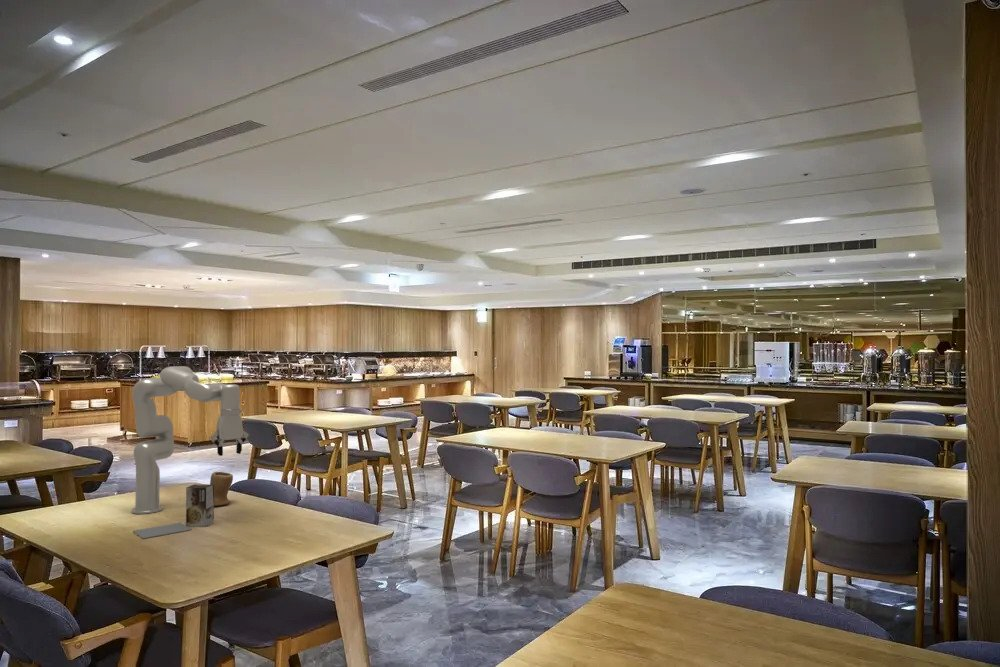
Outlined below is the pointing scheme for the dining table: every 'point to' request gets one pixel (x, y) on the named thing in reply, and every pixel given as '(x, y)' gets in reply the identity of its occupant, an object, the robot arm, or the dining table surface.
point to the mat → (161, 530)
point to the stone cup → (221, 487)
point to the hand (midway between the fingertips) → (229, 454)
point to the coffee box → (199, 505)
